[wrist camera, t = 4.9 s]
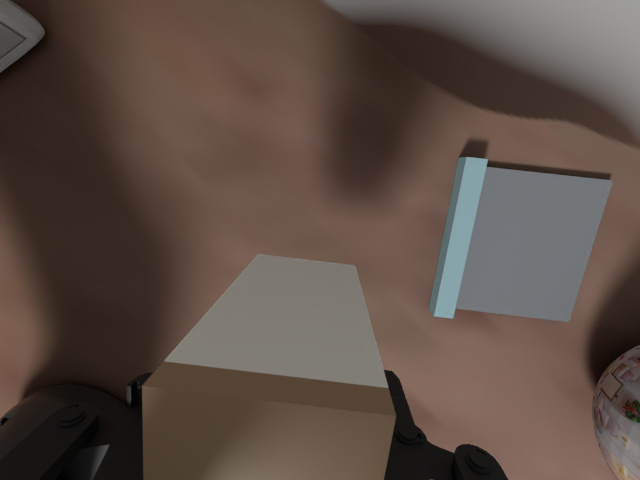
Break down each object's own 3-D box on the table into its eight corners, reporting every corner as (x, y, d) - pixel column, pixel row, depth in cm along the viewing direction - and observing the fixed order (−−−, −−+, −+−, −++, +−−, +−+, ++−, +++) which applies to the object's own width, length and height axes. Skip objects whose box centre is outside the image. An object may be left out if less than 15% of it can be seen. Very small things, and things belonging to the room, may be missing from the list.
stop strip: (428, 308, 27) (434, 316, 26) (458, 157, 25) (466, 156, 23) (446, 310, 27) (453, 318, 26) (479, 159, 25) (488, 159, 23)
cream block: (248, 389, 18) (145, 662, 8) (258, 253, 16) (142, 385, 6) (336, 400, 18) (343, 687, 8) (355, 265, 16) (396, 416, 6)
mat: (450, 305, 27) (452, 308, 27) (480, 166, 25) (483, 166, 24) (565, 319, 27) (569, 322, 27) (607, 180, 24) (613, 180, 24)
